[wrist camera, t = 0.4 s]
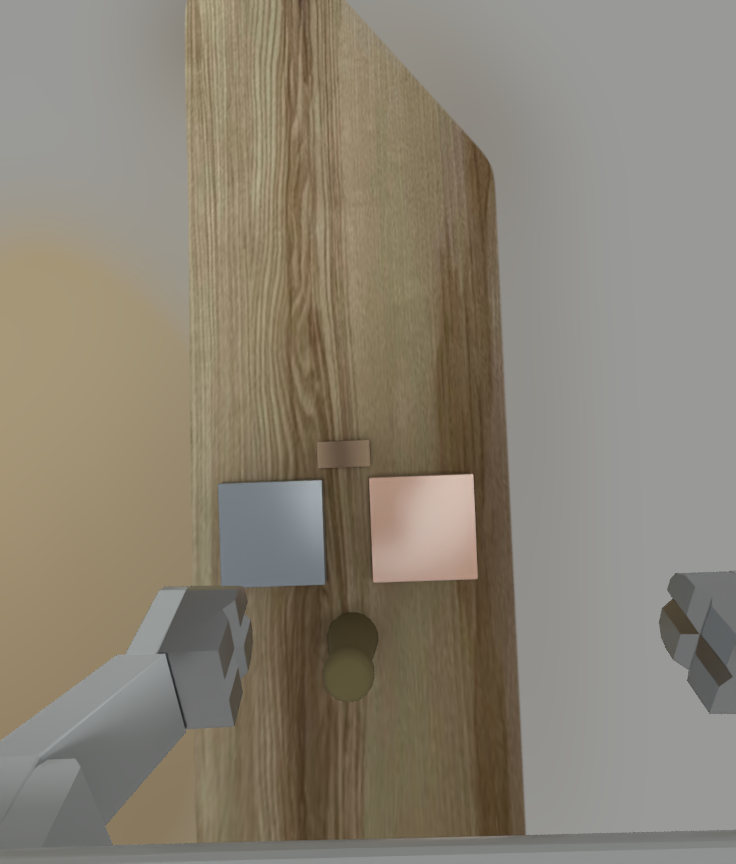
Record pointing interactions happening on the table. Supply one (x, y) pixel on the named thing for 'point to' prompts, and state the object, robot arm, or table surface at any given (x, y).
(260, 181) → the table surface
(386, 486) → the terracotta tile
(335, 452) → the walnut brick
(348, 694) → the olive rounded tall piece
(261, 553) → the steel tile
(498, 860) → the robot arm
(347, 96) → the table surface
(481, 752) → the table surface
